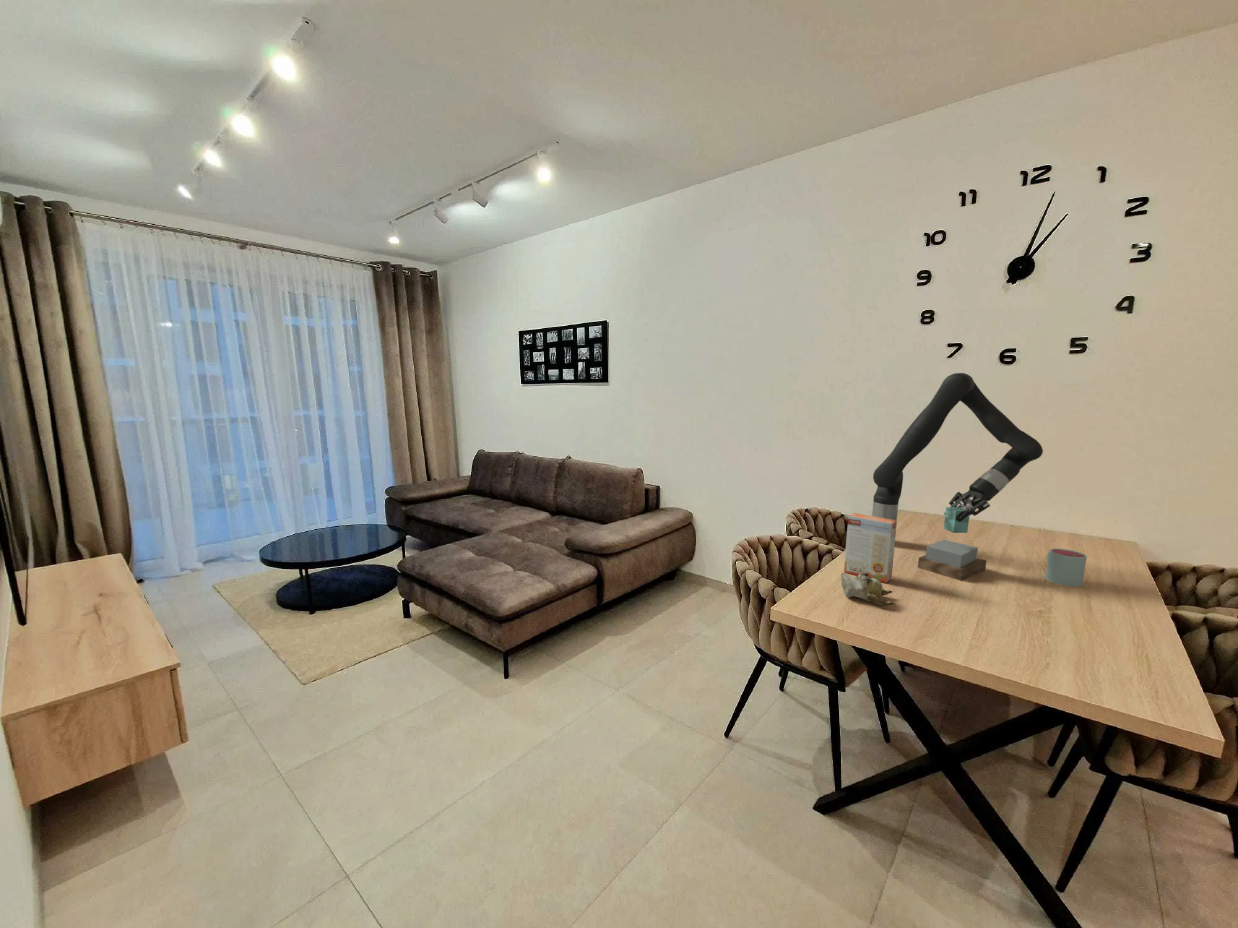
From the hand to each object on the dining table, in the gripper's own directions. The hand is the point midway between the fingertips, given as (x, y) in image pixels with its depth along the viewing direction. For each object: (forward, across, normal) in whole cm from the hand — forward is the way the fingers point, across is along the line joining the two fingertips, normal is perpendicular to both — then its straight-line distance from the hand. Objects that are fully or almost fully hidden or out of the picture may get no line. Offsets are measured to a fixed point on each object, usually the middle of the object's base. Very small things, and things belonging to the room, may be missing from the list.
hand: (951, 517), depth 172 cm
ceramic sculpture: (+44, +24, -16) cm, 52 cm away
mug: (-10, +9, +37) cm, 39 cm away
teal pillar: (+2, 0, +5) cm, 5 cm away
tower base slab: (+12, 0, +15) cm, 20 cm away
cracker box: (+36, +6, -9) cm, 38 cm away
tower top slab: (+10, 0, +12) cm, 15 cm away
